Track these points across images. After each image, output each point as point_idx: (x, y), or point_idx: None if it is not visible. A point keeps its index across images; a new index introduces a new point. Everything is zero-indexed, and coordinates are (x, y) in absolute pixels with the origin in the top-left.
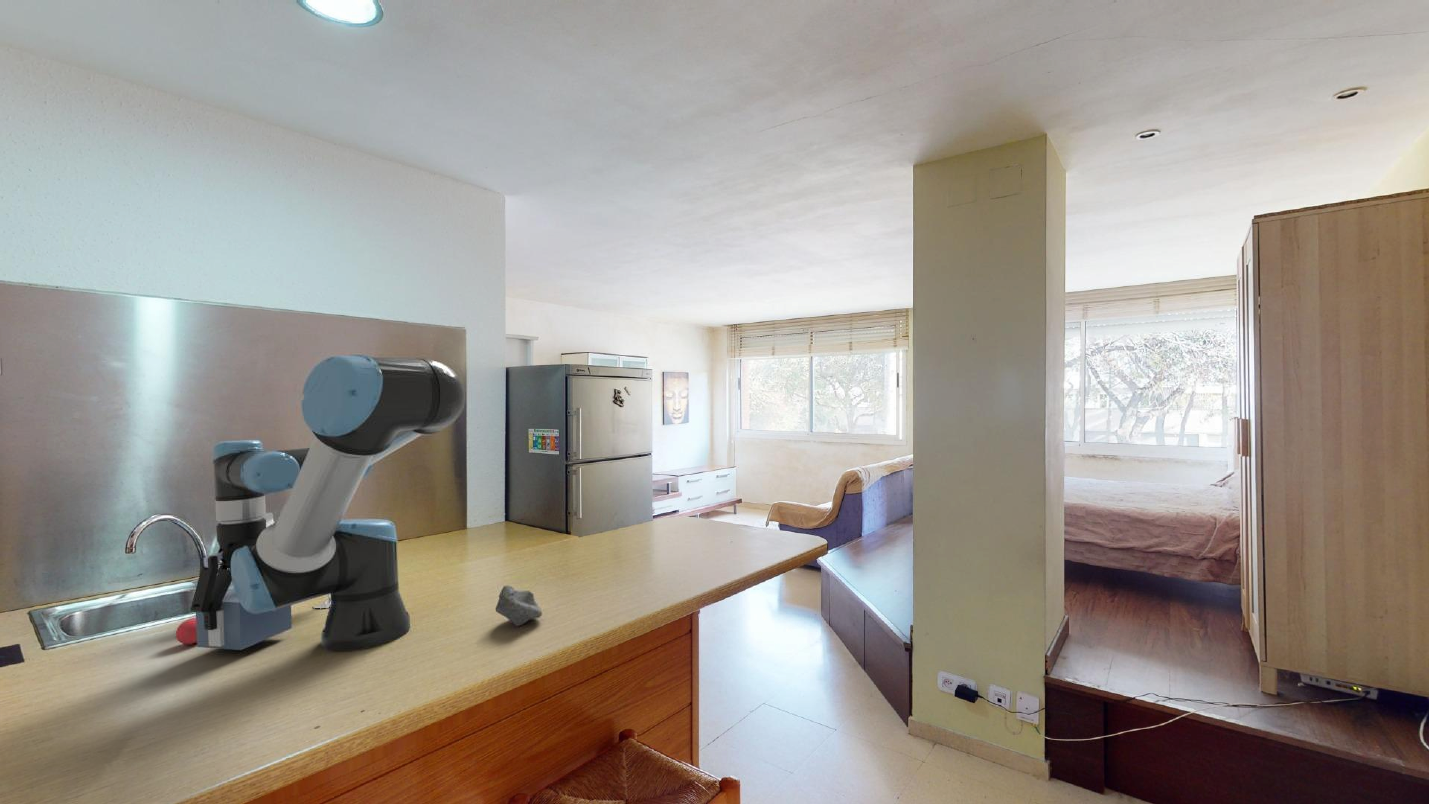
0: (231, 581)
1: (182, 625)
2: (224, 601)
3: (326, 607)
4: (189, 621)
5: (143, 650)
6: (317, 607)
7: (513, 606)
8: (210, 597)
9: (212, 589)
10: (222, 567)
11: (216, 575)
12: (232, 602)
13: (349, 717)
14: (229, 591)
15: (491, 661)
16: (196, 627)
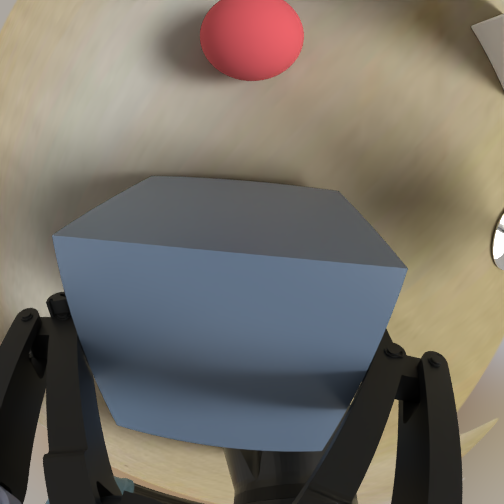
0: (106, 453)
1: (208, 23)
2: (99, 384)
3: (493, 253)
4: (226, 29)
5: None
6: (499, 227)
7: None
8: (43, 388)
9: (37, 414)
10: (61, 492)
11: (28, 467)
12: (109, 408)
13: (116, 461)
14: (218, 297)
15: (223, 498)
16: (122, 192)
